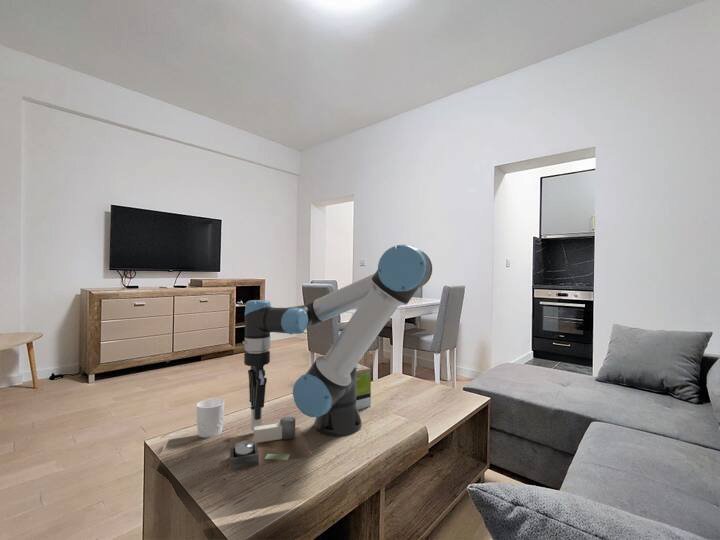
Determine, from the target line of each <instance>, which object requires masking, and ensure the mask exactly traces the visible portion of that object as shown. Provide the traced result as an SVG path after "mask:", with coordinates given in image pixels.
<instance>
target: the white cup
mask: <svg viewBox="0 0 720 540" xmlns="http://www.w3.org/2000/svg"><path fill="white" fill-rule="evenodd" d="M225 404H226V402H225V400H224V399H222V398H208V399H204V400H201V401H199V402H198V403H196V405H195V406H196V428H197V436H198V437H200V438H212V437H215V436H218V435H220V434H221V433H222V431H223V426H224V416H225Z"/></svg>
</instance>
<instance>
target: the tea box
mask: <svg viewBox="0 0 720 540" xmlns="http://www.w3.org/2000/svg"><path fill="white" fill-rule="evenodd" d="M356 367H357V378H356V405H357V408H358V411H359V410H361V409H366V408H368V407H369V408H370V407H371V403H372V401H371V400H372V398H371V395H372V393H371V392H372V386H371V385H372V369H371V367H368V366H365V365H363V364H360V363H358V364H357V365H356Z"/></svg>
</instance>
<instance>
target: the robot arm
mask: <svg viewBox="0 0 720 540" xmlns="http://www.w3.org/2000/svg"><path fill="white" fill-rule="evenodd" d="M432 275H433V264H432V261H431V259H430V257H429V256H428V255H427V254H426V253H425V252H424V251H422V250H420V249H419V248H417V247H415V246H413V245H410V244H397V245H394V246H391V247H390V248H387V250H385V251H384V252H383V254H382V255H381V257H380V259H379V260H378V264H377V270H376V271H375V273H373V274H369V276H365V277H364V278H361V279H359V280H357V281H354V282H352V283H350V284H348V285H346V286H343V287H341V288H339V289H336V290H335V291H332V292H330V293H328V294H327V293H326V295H323V296H320V297H318V298H317V299H314V300H313V301H310V302H307V303H306V304H302V305H297V306H296V305H295V306H289V307H273V306H272V305H271V301H270V300H266V299H265V300H264V299H257V300H256V299H255V300H254V299H253V300H252V299H251V300H248V301H246V302H245V306H244V307H245V309H244V340H242V344H243V345H244V351H245V352H244V355H243V356H244V357H243V359H244V361H243V363H244V365H245V366H248V367H250V369H248V370H247V374H248V375H247V376H248V391H249V403H250V406H251V407H250V410H251V414H250V415H251V419H250V420H251V421H250V427H251V428H250V429H251V431H253V432H254V427H256V426H262V417H263V415H262V413H263V412H262V409H263V408H265V398H266V397H265V395H266V385H267V381H268V379H267V378H268V377H265V376H266V370H265V369H264V366H265V365H268V364H269V363H270V361H271V351H270V349H271V333H275V334H276V333H277V334H287V335H288V334H289V335H300V334H302V333H304V332H305V330H307V328H313V327H315V326H317V325H320V323H323V322H325V321H326V320H329V319H333V318H334V317H337V316H338V315H341V314H344V313H346V312H349V311H351V310H353V309H356V311H355V312H354V313H353V315H352V316H351V317H350V319H349V321H348V322H347V324H346V325H345V326H344V328H343V329H342V331H341V332H340V333H339V335H338V336H337V338H336V340H334V342H333V344H332V345H331V347H330V348H329V350H327V352H326V354H325V355H319V356H317V358H316V359H315V361H314V362H313V363H312V365H311V366H310V368H309V369H308V370H307V371H306V373H305V374H303V375H301V376H299V377H298V378H297V379H296V381H295V382H294V385H293V387H292V397H293V401H294V404H295V406H296V407H297V409H298V410H299V411H300V412H301V413H302V414H304V415H305V416H306V417H310V418H315V419H314V424H313V425H314V426H313V427H314V428H313V429H315V431H316V432H317V433H319V434H321V435H325V436H329V437H345V436H350V435H353V434H356V433H357V432H359V431H360V430H361V429H362V425H363V423H362V418H361V415H360V412H359V410H358V408H357V405H356V378H357V367H356V365H357V364H359V363H360V360H362V358H363V356H364V355H365V353H366V352H367V351H368V350H369V348H370V347H371V345H372V344H373V342H374V341H375V340H376V338H377V337H378V336H379V334H380V332H381V331H382V330H383V328H384V327H385V326H386V324H387V323H388V322H389V321H390V319H391V318H392V317H393V314H394V313H395V312H396V310H397V309H398V307H400V306H406V305H408V304H409V302H410V300H411V299H412V298H413V296H414V295H415V294H416V292H417V291H418V290H419V289H420V288H421V287H424V286H425V285H426V284H427V283H428V282H429V280H430V279H431V277H432Z"/></svg>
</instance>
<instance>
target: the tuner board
mask: <svg viewBox="0 0 720 540" xmlns="http://www.w3.org/2000/svg"><path fill="white" fill-rule="evenodd" d="M241 441H252V442H253V454H251V455H246V456H240V457H235V445H236V444H237V443H239V442H241ZM307 457H313V453H312V451H311V450H310V447H309V445H308V443H307V442H306V439H305V437H304V435H303V433H302V430H301V428H300V427H299V426H297V427H296V426H295V437H294V438H292V439H278V440H271V441H265V442H259V443H254V433H251V434H245V435H239V436H232V437H229V472H232V471H236V470H237V471H239V470H243V469H247V468H248V469H249V468H253V467H259V466H265V465H270V464H275V463H276V464H277V463H280V462H285V461H291V460H296V459H301V458H307Z"/></svg>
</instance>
